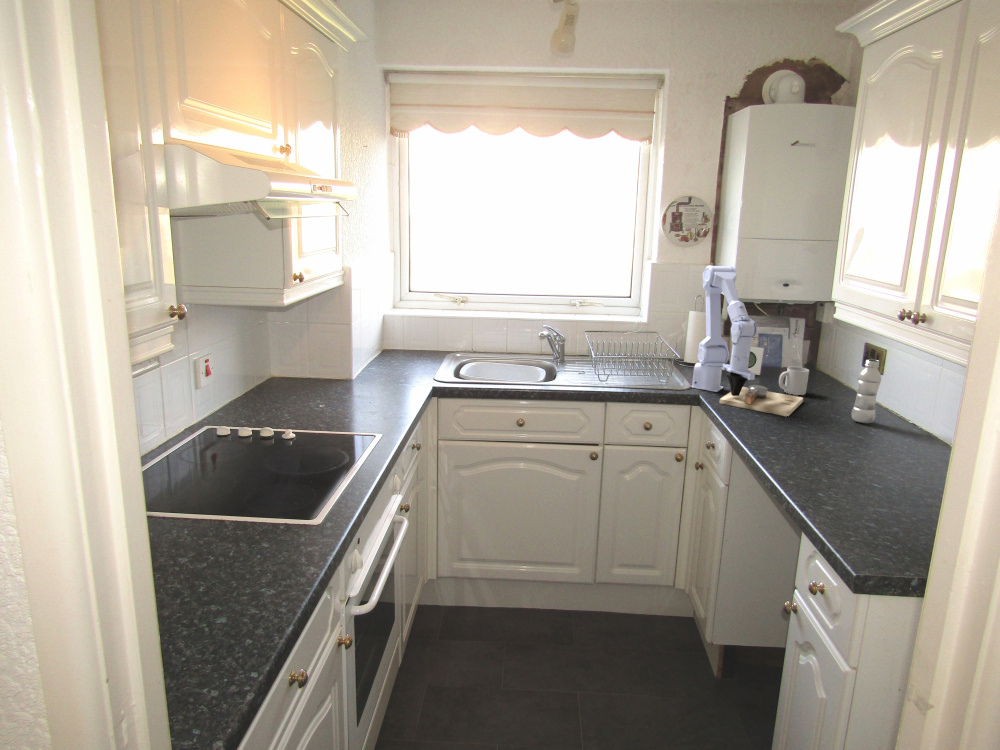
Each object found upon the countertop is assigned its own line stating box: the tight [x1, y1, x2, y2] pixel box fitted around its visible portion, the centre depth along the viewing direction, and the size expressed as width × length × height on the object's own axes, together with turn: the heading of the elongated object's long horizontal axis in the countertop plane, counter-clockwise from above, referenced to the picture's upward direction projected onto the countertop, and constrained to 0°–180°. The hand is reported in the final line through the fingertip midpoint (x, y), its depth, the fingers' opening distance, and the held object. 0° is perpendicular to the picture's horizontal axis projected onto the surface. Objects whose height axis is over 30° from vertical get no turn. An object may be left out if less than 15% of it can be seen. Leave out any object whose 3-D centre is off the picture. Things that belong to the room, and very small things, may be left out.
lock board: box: [718, 386, 804, 417], centre depth 233 cm, size 22×22×2 cm
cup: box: [778, 366, 810, 396], centre depth 246 cm, size 7×10×9 cm
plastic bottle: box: [851, 358, 883, 424], centre depth 213 cm, size 6×7×20 cm
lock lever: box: [744, 384, 768, 404], centre depth 231 cm, size 15×6×3 cm, turn 145°
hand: (735, 395), depth 232 cm, fingers closed
